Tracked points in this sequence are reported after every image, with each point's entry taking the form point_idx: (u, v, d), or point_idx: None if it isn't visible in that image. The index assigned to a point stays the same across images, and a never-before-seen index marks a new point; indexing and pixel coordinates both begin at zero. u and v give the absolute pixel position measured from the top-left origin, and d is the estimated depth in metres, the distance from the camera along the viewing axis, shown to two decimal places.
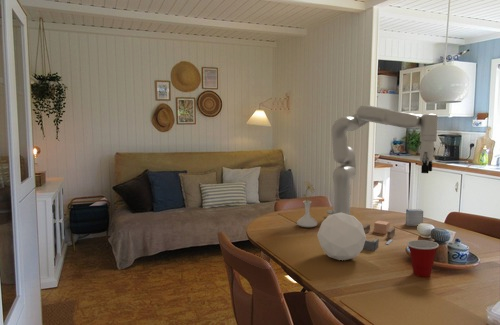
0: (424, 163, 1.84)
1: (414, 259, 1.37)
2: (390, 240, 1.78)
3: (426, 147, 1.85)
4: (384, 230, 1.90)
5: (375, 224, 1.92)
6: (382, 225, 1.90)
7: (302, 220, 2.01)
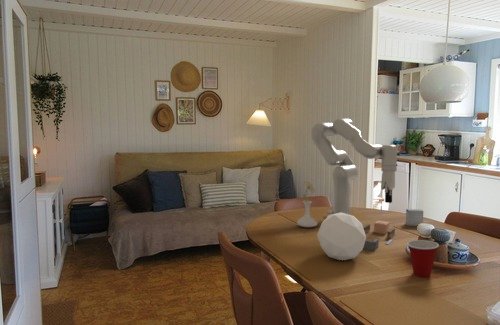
0: (387, 193, 1.96)
1: (414, 259, 1.37)
2: (390, 240, 1.78)
3: (386, 177, 1.94)
4: (384, 230, 1.90)
5: (375, 224, 1.92)
6: (382, 225, 1.90)
7: (302, 220, 2.01)
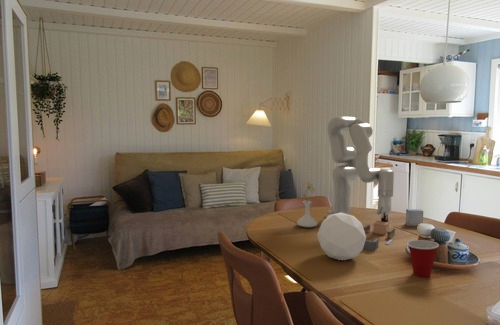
0: (383, 218, 1.94)
1: (414, 259, 1.37)
2: (390, 240, 1.78)
3: (382, 202, 1.92)
4: (383, 230, 1.89)
5: (374, 224, 1.91)
6: (381, 225, 1.89)
7: (302, 220, 2.01)
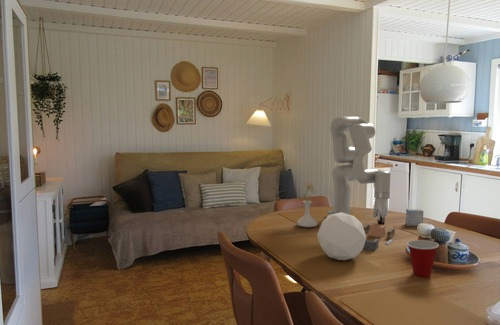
0: (379, 221, 1.89)
1: (414, 259, 1.37)
2: (390, 240, 1.78)
3: (379, 204, 1.86)
4: (380, 233, 1.84)
5: (371, 227, 1.86)
6: (378, 228, 1.84)
7: (302, 220, 2.01)
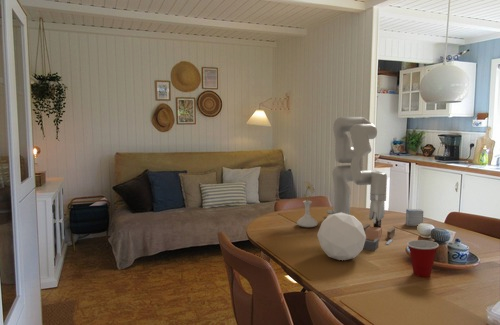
0: (375, 224, 1.84)
1: (414, 259, 1.37)
2: (390, 240, 1.78)
3: (375, 207, 1.81)
4: (376, 236, 1.78)
5: (367, 230, 1.81)
6: (374, 231, 1.79)
7: (302, 220, 2.01)
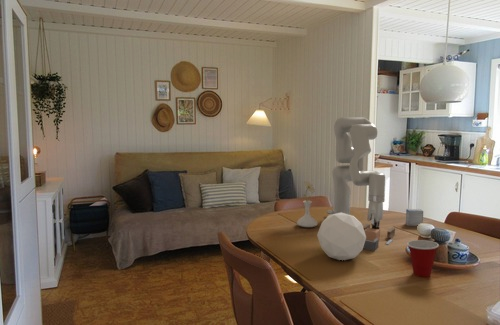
0: (374, 225, 1.82)
1: (414, 259, 1.37)
2: (390, 240, 1.78)
3: (373, 208, 1.79)
4: (374, 238, 1.76)
5: (365, 232, 1.79)
6: (372, 233, 1.77)
7: (302, 220, 2.01)
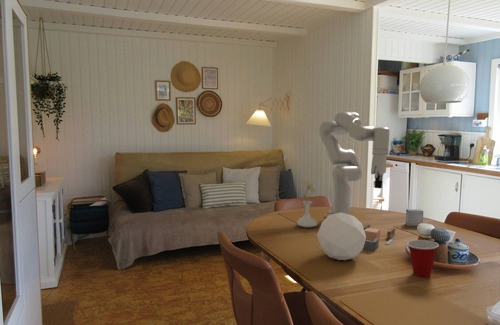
0: (377, 178, 1.87)
1: (414, 259, 1.37)
2: (390, 240, 1.78)
3: (377, 161, 1.83)
4: (374, 238, 1.76)
5: (365, 232, 1.79)
6: (372, 233, 1.77)
7: (302, 220, 2.01)
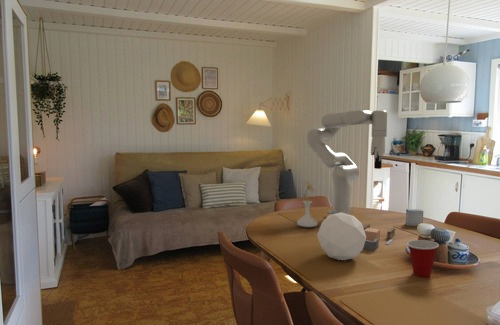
0: (376, 159, 1.96)
1: (414, 259, 1.37)
2: (390, 240, 1.78)
3: (376, 142, 1.93)
4: (374, 238, 1.76)
5: (365, 232, 1.79)
6: (372, 233, 1.77)
7: (302, 220, 2.01)
